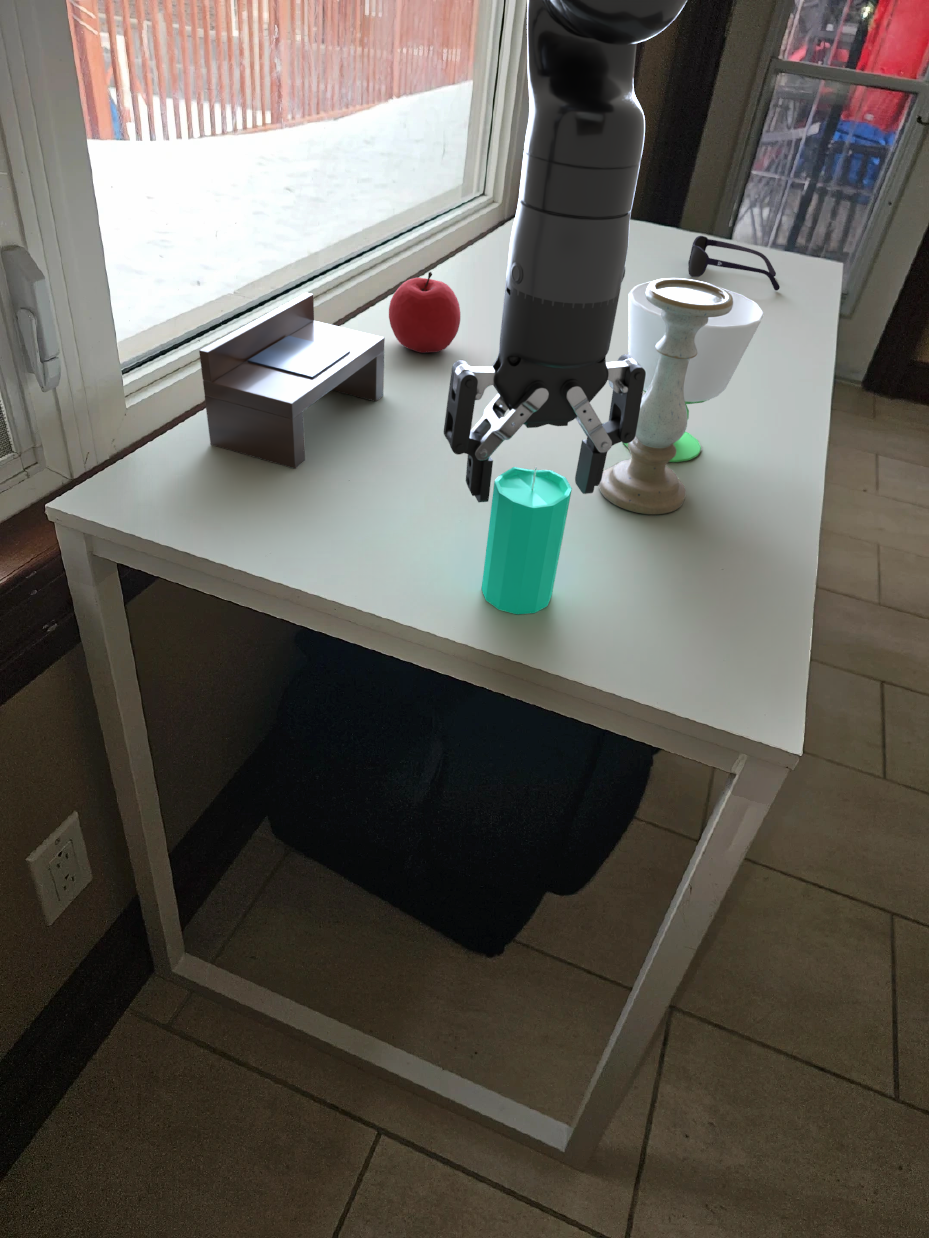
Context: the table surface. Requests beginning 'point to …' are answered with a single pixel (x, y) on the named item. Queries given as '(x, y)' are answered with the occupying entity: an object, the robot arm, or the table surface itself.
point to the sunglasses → (701, 260)
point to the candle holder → (664, 399)
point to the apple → (424, 314)
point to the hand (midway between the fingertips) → (532, 492)
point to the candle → (524, 539)
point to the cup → (715, 347)
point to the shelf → (283, 379)
